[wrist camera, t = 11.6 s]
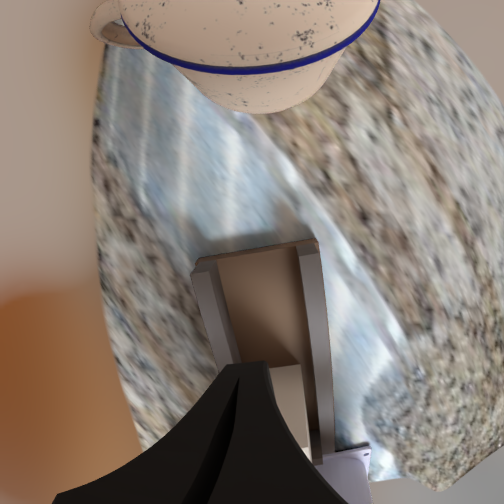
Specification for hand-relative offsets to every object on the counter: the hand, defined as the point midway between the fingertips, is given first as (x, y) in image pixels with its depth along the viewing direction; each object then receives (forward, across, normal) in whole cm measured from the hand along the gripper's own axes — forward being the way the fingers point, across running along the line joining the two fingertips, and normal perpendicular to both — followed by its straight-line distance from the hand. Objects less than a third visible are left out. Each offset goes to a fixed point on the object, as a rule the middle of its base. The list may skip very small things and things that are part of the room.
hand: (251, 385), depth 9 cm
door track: (+9, 0, +6) cm, 11 cm away
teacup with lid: (+10, -1, -14) cm, 17 cm away
